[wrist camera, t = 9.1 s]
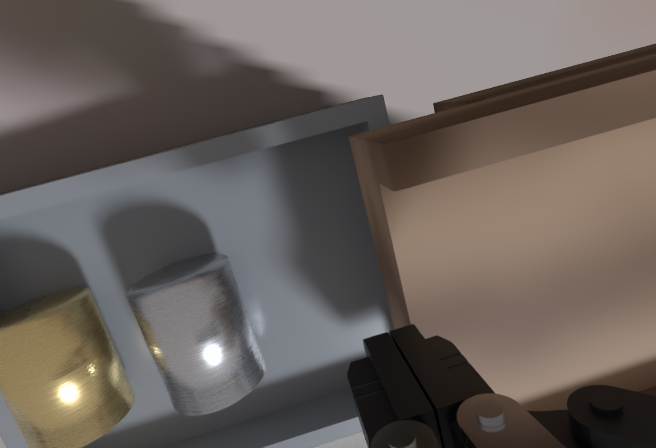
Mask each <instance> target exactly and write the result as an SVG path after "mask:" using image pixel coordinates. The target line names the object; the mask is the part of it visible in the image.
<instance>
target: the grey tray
mask: <svg viewBox="0 0 656 448" xmlns="http://www.w3.org/2000/svg"><path fill="white" fill-rule="evenodd" d="M386 126H390V125H389V121H388V116H387V111H386V106H385V102H384V97H383V95H378V96H373V97H367V98H363V99H359V100H355V101H351V102H348V103H344V104H340V105H336V106H332V107H329V108H325V109H321V110H317V111H313V112H310V113H306V114H302V115H298V116H295V117H291V118H287V119H283V120H279V121H276V122H272V123H268V124H264V125H260V126H257V127H253V128H249V129H245V130H241V131H238V132H234V133H230V134H226V135H223V136H219V137H215V138H211V139H207V140H204V141H200V142H196V143H192V144H188V145H185V146H181V147H177V148H173V149H169V150H166V151H162V152H158V153H154V154H151V155H147V156H143V157H139V158H135V159H132V160H128V161H124V162H120V163H116V164H113V165H109V166H105V167H101V168H97V169H94V170H90V171H86V172H82V173H79V174H75V175H71V176H67V177H63V178H60V179H56V180H52V181H48V182H44V183H41V184H37V185H33V186H29V187H25V188H22V189H18V190H14V191H10V192H7V193H3V194H0V315H1V314H2V313H4V312H6V311H8V310H11V309H13V308H15V307H17V306H19V305H21V304H24V303H26V302H29V301H31V300H34V299H36V298H39V297H42V296H45V295H48V294H51V293H54V292H57V291H61V290H65V289H69V288H75V287H87V288H89V289H90V292H91V294H92V296H93V298H94V301H95V303H96V305H97V308H98V310H99V312H100V315H101V317H102V319H103V322H104V324H105V326H106V328H107V331H108V333H109V335H110V338H111V340H112V342H113V345H114V347H115V349H116V352H117V354H118V356H119V358H120V361H121V363H122V365H123V368H124V370H125V372H126V375H127V377H128V379H129V382H130V384H131V386H132V388H133V391H134V393H135V401H134V404H133V406H132V408H131V409H130V411H129V412H128V413H127V415H126V416H125V417H124V418H123V419H122V420H121V421H120V422H119V423H118V424H117V425H116V426H114V427H113V428H112V429H111V430H110V431H108V432H107V433H105V434H104V435H103V436H101V437H100V438H98V439H96V440H95V441H93V442H91V443H89V444H88V445H86V446H84V447H82V448H313V447H316V446H319V445H322V444H325V443H328V442H331V441H334V440H337V439H340V438H343V437H347V436H350V435H353V434H356V433H359V432H362V431H363V430H362V427H361V424H360V421H359V418H358V414H357V410H356V407H355V403H354V399H353V396H352V392H351V389H350V385H349V381H348V378H347V373H348V369H349V366H350V362H353V361H356V360H359V359H363V358H366V357H367V356H366V353H365V349H364V345H363V339H366V338H369V337H372V336H375V335H379V334H382V333H385V332H388V333H389V331H391V330H394V326H393V322H392V318H391V313H390V309H389V305H388V301H387V296H386V292H385V288H384V284H383V280H382V275H381V271H380V267H379V263H378V258H377V254H376V250H375V246H374V242H373V237H372V233H371V229H370V225H369V220H368V216H367V212H366V208H365V204H364V199H363V195H362V191H361V187H360V183H359V178H358V174H357V170H356V166H355V161H354V157H353V153H352V149H351V145H350V140H349V136H353V135H356V134H360V133H364V132H367V131H371V130H375V129H379V128H382V127H386ZM207 254H224V255H226V256H228V259H229V261H230V264H231V267H232V270H233V273H234V276H235V279H236V281H237V284H238V287H239V290H240V293H241V296H242V298H243V301H244V304H245V307H246V310H247V313H248V316H249V318H250V321H251V324H252V327H253V330H254V333H255V336H256V338H257V341H258V344H259V347H260V350H261V353H262V356H263V358H264V361H265V364H266V371H265V374H264V376H263V378H262V380H261V381H260V383H259V384H258V385H257V386H256V387H255V388H254V389H253V390H252V391H251V392H250V393H249V394H248V395H246V396H245V397H244V398H242V399H241V400H239V401H238V402H236V403H234V404H232V405H230V406H229V407H226V408H224V409H222V410H219V411H216V412H213V413H210V414H205V415H199V416H188V415H183V414H180V413H178V412H177V411H176V410H175V409H174V407H173V405H172V402H171V400H170V398H169V395H168V393H167V391H166V388H165V386H164V384H163V381H162V379H161V377H160V374H159V372H158V370H157V367H156V365H155V363H154V360H153V358H152V355H151V353H150V351H149V348H148V346H147V344H146V341H145V339H144V337H143V334H142V332H141V330H140V327H139V325H138V323H137V320H136V318H135V315H134V313H133V311H132V308H131V306H130V304H129V301H128V299H127V297H126V293H127V291H128V290H129V289H130V288H131V287H132V286H133V285H134V284H135V283H137V282H138V281H140V280H141V279H143V278H144V277H146V276H148V275H150V274H151V273H153V272H155V271H158V270H160V269H162V268H164V267H167V266H169V265H172V264H174V263H177V262H180V261H183V260H186V259H189V258H193V257H197V256H202V255H207ZM0 436H1V438H2V440H3V442H4V444H5V445H6V447H7V448H29V447H28V445H27V443H26V441H25V439H24V437H23V435H22V433H21V431H20V429H19V428H18V426H17V424H16V422H15V420H14V418H13V416H12V414H11V412H10V410H9V409H8V407H7V405H6V403H5V401H4V399H3V397H2V395H1V393H0Z"/></svg>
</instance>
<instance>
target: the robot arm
mask: <svg viewBox="0 0 656 448" xmlns="http://www.w3.org/2000/svg"><path fill="white" fill-rule="evenodd" d="M363 345H364V349H365V353H366V356H367V357H366V358H363V359H359V360H356V361H353V362H350V366H349V369H348V373H347V378H348V381H349V385H350V389H351V392H352V396H353V399H354V403H355V407H356V410H357V414H358V418H359V421H360V424H361V427H362V430H363V434H364V436H365V440H366V443H367V446H368V448H656V396H653V395H648V394H644V393H640V392H635V391H631V390H627V389H622V388H618V387H614V386H608V385H590V386H585V387H582V388H579V389H577V390H575V391H574V392H573V393H571V394H570V396H569V397H568V400H567V410H552V411H528V410H525V409H524V408H523V407H522V406H521V405H520V404H519V403H518V402H517V401H515V400H514V399H512V398H510V397H507V396H504V395H501V394H496V393H495V392H494V391H493V390H492V389H491V388H490V386H489V385H488V384H487V383H486V382H485V380H484V379H483V378H482V377H481V376H480V375H479V373H478V372H477V371H476V370H475V369H474V367H473V366H472V365H471V364H469V362H468V360H467V359H466V358H465V357H464V356H463V355H462V354H461V352H460V351H459V350H458V349H457V347H456V346H455V345H454V344H453V343H452V342H451V341H449V340H446V339H444V338H442V337H440V336H438V335H436V336H433V337H430V338H427V339H425V338H424V337H423V335H422V334H421V333H420V331H419V330H418V329H417V327H416V326H415V325H414V324H411V325H408V326H404V327H401V328H398V329H395V330H391V331H389V333H388V332H385V333H382V334H379V335H375V336H372V337H369V338H366V339H363Z"/></svg>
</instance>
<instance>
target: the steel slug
mask: <svg viewBox="0 0 656 448" xmlns="http://www.w3.org/2000/svg"><path fill="white" fill-rule="evenodd" d="M126 297H127V299H128V301H129V304H130V306H131V308H132V311H133V313H134V315H135V318H136V320H137V323H138V325H139V327H140V330H141V332H142V334H143V337H144V339H145V341H146V344H147V346H148V348H149V351H150V353H151V355H152V358H153V360H154V363H155V365H156V367H157V370H158V372H159V374H160V377H161V379H162V381H163V384H164V386H165V388H166V391H167V393H168V395H169V398H170V400H171V402H172V405H173V407H174V409H175V410H176V411H177V412H178V413H180V414H183V415H188V416H199V415H205V414H210V413H213V412H216V411H219V410H222V409H224V408H226V407H229V406H230V405H232V404H234V403H236V402H238V401H239V400H241V399H242V398H244V397H245V396H246V395H248V394H249V393H250V392H251V391H252V390H253V389H254V388H255V387H256V386H257V385H258V384H259V383H260V381H261V380H262V378H263V376H264V374H265V371H266V364H265V361H264V358H263V356H262V353H261V350H260V347H259V344H258V341H257V338H256V336H255V333H254V330H253V327H252V324H251V321H250V318H249V316H248V313H247V310H246V307H245V304H244V301H243V298H242V296H241V293H240V290H239V287H238V284H237V281H236V279H235V276H234V273H233V270H232V267H231V264H230V261H229V259H228V256H226V255H224V254H207V255H202V256H197V257H193V258H189V259H186V260H183V261H180V262H177V263H174V264H172V265H169V266H167V267H164V268H162V269H160V270H158V271H155V272H153V273H151V274H150V275H148V276H146V277H144V278H143V279H141V280H140V281H138V282H137V283H135V284H134V285H133V286H132V287H131V288H130V289H129V290H128V291H127V293H126Z"/></svg>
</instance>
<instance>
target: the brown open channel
mask: <svg viewBox="0 0 656 448" xmlns="http://www.w3.org/2000/svg"><path fill="white" fill-rule="evenodd" d="M433 105H434V110H435V113H434V114H430V115H427V116H423V117H419V118H416V119H412V120H408V121H404V122H401V123H397V124H393V125H390V126H386V127H382V128H379V129H375V130H371V131H367V132H364V133H360V134H356V135H353V136H349V140H350V145H351V149H352V153H353V157H354V161H355V166H356V170H357V174H358V178H359V183H360V187H361V191H362V195H363V199H364V204H365V208H366V212H367V216H368V220H369V225H370V229H371V233H372V237H373V242H374V246H375V250H376V254H377V258H378V263H379V267H380V271H381V275H382V280H383V284H384V288H385V292H386V296H387V301H388V305H389V309H390V313H391V318H392V322H393V326H394V330H395V329H398V328H401V327H404V326H408V325H411V324H414V325H415V326H416V327H417V329H418V330H419V331H420V333H421V334H422V335H423V337H424V338H425V339H427V338H430V337H433V336H436V335H438V336H440V337H442V338H444V339H446V340H449V341H451V342H452V343H453V344H454V345H455V346H456V347H457V349H458V350H459V351H460V352H461V354H462V355H463V356H464V357H465V358H466V359H467V360H468V362H469V364H471V365H472V366H473V367H474V369H475V370H476V371H477V372H478V373H479V375H480V376H481V377H482V378H483V379H484V380H485V382H486V383H487V384H488V385H489V386H490V388H491V389H492V390H493V391H494V392H495V393H496V394H501V395H504V396H507V397H510V398H512V399H514V400H515V401H517V402H518V403H519V404H520V405H521V406H522V407H523V408H524V409H525V410H528V411H552V410H567V400H568V397H569V396H570V394H571V393H573V392H574V391H575V390H577V389H579V388H582V387H585V386H590V385H608V386H614V387H618V388H622V389H627V390H631V391H635V392H640V393H644V394H648V395H653V396H656V44H653V45H649V46H646V47H642V48H638V49H634V50H631V51H627V52H623V53H619V54H616V55H612V56H608V57H604V58H601V59H597V60H593V61H590V62H586V63H582V64H578V65H575V66H571V67H567V68H563V69H560V70H556V71H553V72H549V73H545V74H541V75H537V76H534V77H530V78H526V79H523V80H519V81H515V82H511V83H508V84H504V85H500V86H497V87H493V88H489V89H485V90H482V91H478V92H474V93H470V94H467V95H463V96H459V97H455V98H452V99H448V100H444V101H441V102H437V103H434V104H433Z"/></svg>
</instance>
